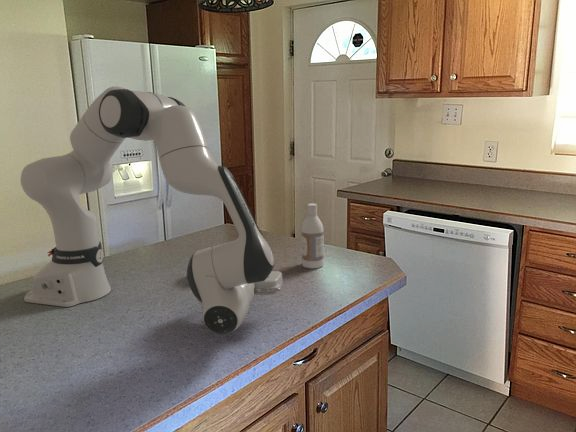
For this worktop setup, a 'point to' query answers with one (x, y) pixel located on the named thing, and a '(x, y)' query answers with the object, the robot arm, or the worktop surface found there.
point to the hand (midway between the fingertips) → (246, 270)
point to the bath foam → (312, 239)
